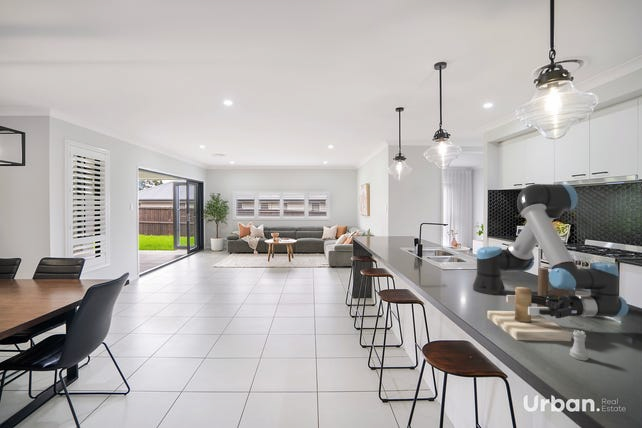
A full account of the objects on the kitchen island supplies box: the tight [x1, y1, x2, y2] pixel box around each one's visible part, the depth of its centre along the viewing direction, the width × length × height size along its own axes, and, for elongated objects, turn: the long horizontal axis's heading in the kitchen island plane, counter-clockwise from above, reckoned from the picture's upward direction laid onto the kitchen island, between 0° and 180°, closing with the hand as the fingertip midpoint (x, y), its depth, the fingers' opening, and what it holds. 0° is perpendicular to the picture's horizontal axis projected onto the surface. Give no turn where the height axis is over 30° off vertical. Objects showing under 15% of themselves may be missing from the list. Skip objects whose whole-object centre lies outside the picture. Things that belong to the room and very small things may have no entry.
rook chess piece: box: [569, 329, 590, 362], centre depth 91 cm, size 4×4×8 cm
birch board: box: [486, 310, 573, 342], centre depth 112 cm, size 20×18×3 cm
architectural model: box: [575, 290, 591, 295], centre depth 135 cm, size 3×7×7 cm, turn 63°
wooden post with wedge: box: [536, 267, 570, 310], centre depth 132 cm, size 4×11×18 cm, turn 55°
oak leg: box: [514, 286, 533, 323], centre depth 112 cm, size 5×5×15 cm
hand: (517, 304), depth 112 cm, fingers open, 13 cm apart
